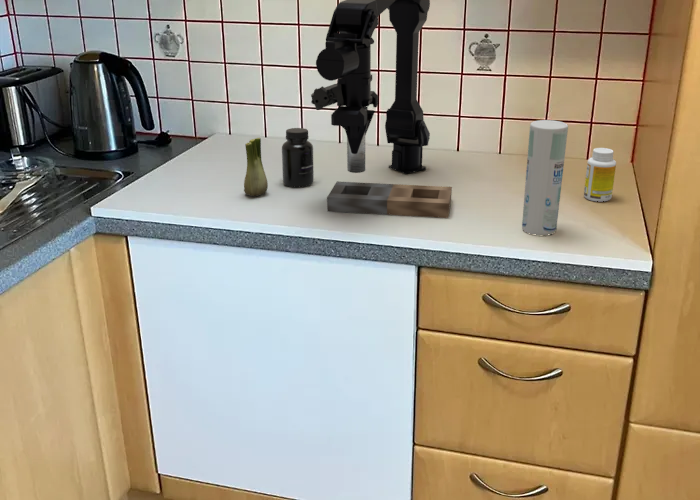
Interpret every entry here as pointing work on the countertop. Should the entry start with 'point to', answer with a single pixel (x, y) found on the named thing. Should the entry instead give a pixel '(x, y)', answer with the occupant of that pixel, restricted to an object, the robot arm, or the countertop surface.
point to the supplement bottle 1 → (297, 159)
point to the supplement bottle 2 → (600, 175)
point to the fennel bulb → (254, 170)
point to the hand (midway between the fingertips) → (356, 150)
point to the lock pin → (356, 158)
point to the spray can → (544, 176)
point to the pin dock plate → (390, 199)
